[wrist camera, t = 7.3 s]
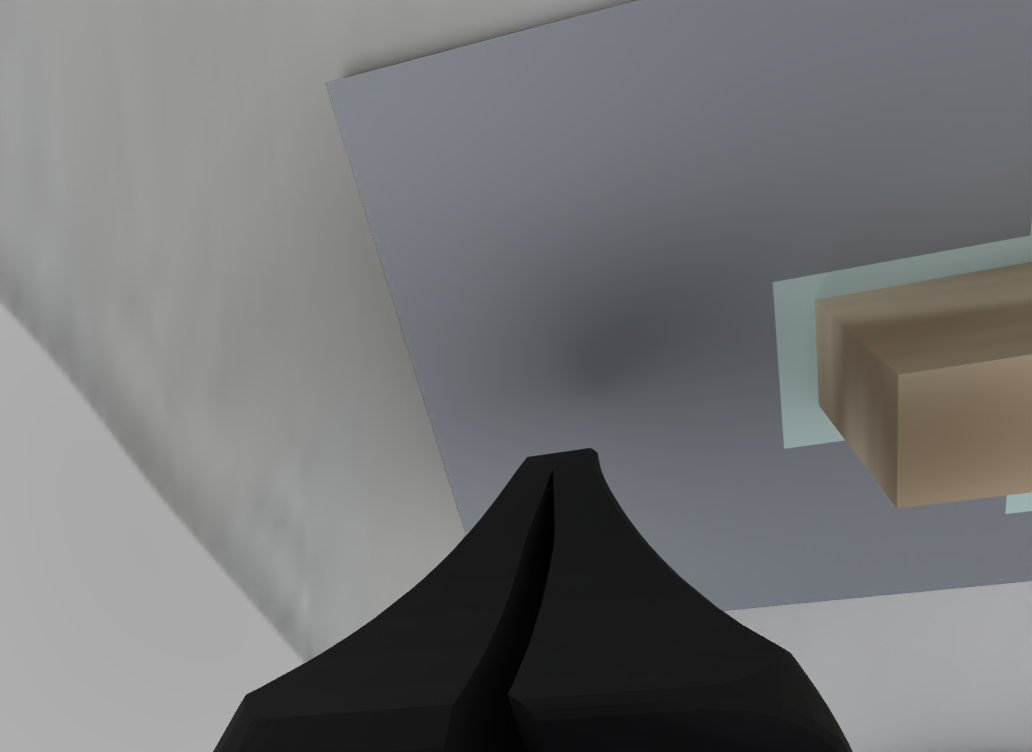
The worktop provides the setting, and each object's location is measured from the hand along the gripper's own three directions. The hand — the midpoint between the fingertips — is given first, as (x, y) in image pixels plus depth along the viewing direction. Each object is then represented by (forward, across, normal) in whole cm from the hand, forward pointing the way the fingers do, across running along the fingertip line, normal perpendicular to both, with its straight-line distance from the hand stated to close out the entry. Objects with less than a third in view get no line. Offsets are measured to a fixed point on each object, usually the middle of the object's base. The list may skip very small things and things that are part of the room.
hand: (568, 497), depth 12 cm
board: (+5, -6, -1) cm, 8 cm away
